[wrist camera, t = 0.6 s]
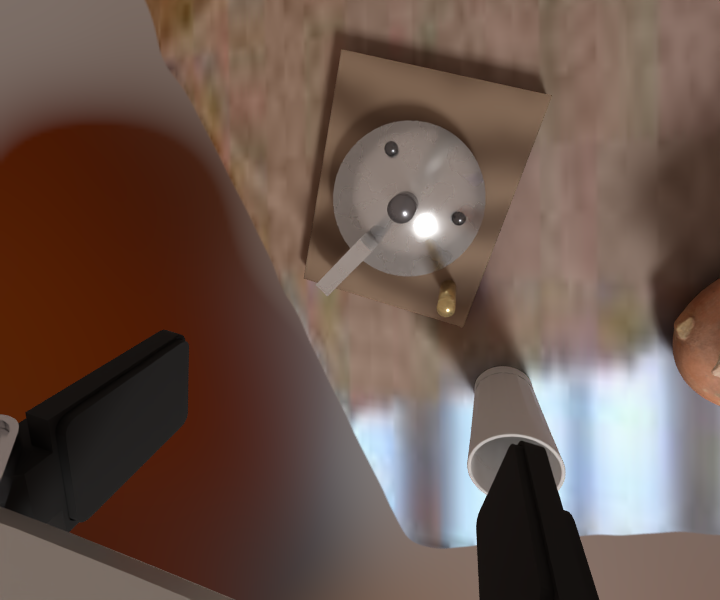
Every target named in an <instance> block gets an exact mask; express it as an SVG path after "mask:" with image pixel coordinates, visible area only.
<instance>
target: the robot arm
mask: <svg viewBox="0 0 720 600" xmlns="http://www.w3.org/2000/svg"><path fill="white" fill-rule="evenodd" d="M188 362H189V345H188V343H187V342H186V341H185V338H184V336H183V335H180V334H177V333H174V332H171V331H167V330H162V331H159V332H158V333H156V334H154V335H153V336H151V337H149V338H148V339H146V340H144V341H143V342H141V343H139V344H138V345H136V346H134V347H133V348H131V349H130V350H128V351H126V352H125V353H123V354H121V355H120V356H118V357H116V358H115V359H113V360H111V361H110V362H108V363H106V364H105V365H103V366H101V367H100V368H98V369H96V370H95V371H93V372H92V373H90V374H88V375H87V376H85V377H83V378H82V379H80V380H78V381H77V382H75V383H73V384H72V385H70V386H68V387H67V388H65V389H64V390H62V391H60V392H58V393H57V394H55V395H53V396H52V397H50V398H48V399H47V400H45V401H44V402H42V403H41V404H39V405H37V406H35V407H34V408H32V409H31V410H29V411H27V412H26V419H24V420H23V421H21V422H20V423H17V421H16V420H15V419H14V418H12V417H10V416H7V415H0V600H234V599H231V598H229V597H227V596H224V595H222V594H219V593H217V592H215V591H212V590H210V589H207V588H205V587H202V586H200V585H197V584H195V583H193V582H190V581H188V580H185V579H183V578H180V577H178V576H176V575H173V574H171V573H168V572H166V571H163V570H161V569H158V568H156V567H153V566H151V565H148V564H146V563H144V562H141V561H139V560H136V559H134V558H131V557H128V556H126V555H124V554H121V553H119V552H116V551H113V550H111V549H109V548H106V547H104V546H101V545H99V544H96V543H94V542H91V541H89V540H86V539H84V538H81V537H79V536H76V535H74V534H71V533H69V531H71V529H73V527H74V526H75V525H76V524H78V523H79V522H84V521H86V520H88V519H89V518H90V517H91V516H92V515H93V514H94V513H95V512H96V511H97V510H98V509H99V508H100V507H101V506H102V505H103V504H104V503H105V502H106V501H107V500H108V499H109V498H110V497H111V496H112V495H113V494H114V493H115V492H116V491H117V490H118V489H119V488H120V487H121V486H122V485H123V484H124V483H125V482H126V481H127V480H128V479H129V478H130V477H131V476H132V475H133V474H134V473H135V472H136V471H137V470H138V469H139V468H140V467H141V466H142V465H143V464H144V463H145V462H146V461H147V460H148V459H149V458H150V457H151V456H152V455H153V454H154V453H155V452H156V451H157V450H158V449H159V448H160V447H161V446H162V445H163V444H164V443H165V442H166V441H167V440H168V439H169V438H170V437H171V436H172V435H173V434H174V433H175V432H176V431H177V430H178V429H179V428H180V427H181V426H182V425H183V424H184V422H185V420H186V418H187V414H188V367H189V366H188V365H189V363H188ZM476 534H477V555H478V576H479V597H480V600H599V597H598V595H597V591H596V588H595V585H594V581H593V578H592V575H591V572H590V569H589V565H588V562H587V559H586V556H585V553H584V549H583V546H582V543H581V540H580V537H579V533H578V530H577V527H576V524H575V521H574V519H573V517H572V515H571V514H570V513H569V512H568V511H565V510H563V507H562V503H561V500H560V497H559V493H558V490H557V486H556V483H555V479H554V476H553V473H552V469H551V466H550V462H549V459H548V455H547V452H546V450H545V448H544V447H541V446H538V445H535V444H532V443H528V442H525V441H520V442H519V443H518V444H517V445H516V444H511V445H510V446H509V448H508V450H507V452H506V455H505V457H504V459H503V461H502V463H501V466H500V468H499V470H498V472H497V474H496V477H495V479H494V481H493V483H492V485H491V487H490V490H489V492H488V494H487V496H486V498H485V501H484V503H483V505H482V507H481V509H480V512H479V514H478V518H477V524H476Z"/></svg>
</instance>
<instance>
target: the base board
mask: <svg viewBox="0 0 720 600" xmlns="http://www.w3.org/2000/svg"><path fill="white" fill-rule="evenodd" d="M551 97H552V95H548V94H543V93H539V92H534V91H529V90H525V89H520V88H516V87H511V86H507V85H502V84H498V83H493V82H489V81H484V80H479V79H475V78H470V77H466V76H461V75H457V74H452V73H448V72H443V71H439V70H434V69H429V68H425V67H420V66H416V65H411V64H407V63H402V62H398V61H393V60H388V59H384V58H379V57H375V56H370V55H366V54H361V53H357V52H352V51H348V50H343V49H341V55H340V61H339V67H338V73H337V79H336V85H335V92H334V98H333V104H332V110H331V116H330V122H329V128H328V134H327V140H326V146H325V152H324V158H323V164H322V170H321V176H320V183H319V189H318V195H317V201H316V207H315V213H314V219H313V225H312V231H311V237H310V243H309V249H308V255H307V261H306V267H305V274H304V279H307V280H311V281H314V282H317V283H318V282H319V281H320V280H321V279H322V278H323V277H324V276H325V274H326V273H327V272H328V271H329V270H330V269H331V268H332V267H333V266H334V265H335V264H336V263H337V262H338V261H339V260H340V259H341V258H342V257H343V256H344V255H345V254H346V253H347V252H348V251H349V250H350V247H349V246H348V245H347V243H346V242H345V240H344V238H343V236H342V235H341V233H340V230H339V228H338V225H337V222H336V218H335V214H334V207H333V192H334V184H335V180H336V176H337V173H338V171H339V168H340V166H341V164H342V162H343V160H344V158H345V156H346V155H347V154H348V152H349V151H350V149H351V148H352V147H353V146H354V145H355V144H356V143H357V142H358V141H359V140H360V139H361V138H363V137H364V136H365V135H366V134H368V133H369V132H371V131H373V130H374V129H376V128H379V127H381V126H383V125H386V124H389V123H393V122H398V121H422V122H428V123H431V124H434V125H437V126H440V127H442V128H444V129H446V130H448V131H449V132H451V133H452V134H454V135H455V136H457V137H458V138H459V139H460V140H461V141H462V142H463V143H464V144H465V145H466V146H467V147H468V148H469V150H470V151H471V152H472V154H473V156H474V157H475V159H476V161H477V163H478V165H479V168H480V170H481V172H482V176H483V180H484V185H485V193H486V194H485V210H484V216H483V219H482V223H481V226H480V228H479V230H478V232H477V235H476V236H475V238H474V240H473V241H472V243H471V244H470V245H469V247H468V248H467V249H466V251H465V252H464V253H463V254H462V255H461V256H460V257H458V258H457V259H456V260H455V261H453V262H452V263H451V264H449V265H447V266H446V267H444V268H442V269H440V270H437V271H435V272H432V273H429V274H425V275H419V276H397V275H392V274H388V273H385V272H382V271H380V270H377V269H375V268H373V267H371V266H370V265H368V264H367V263H365V262H364V261H362V262H361V263H360V264H359V265H358V266H357V267H356V268H355V269H354V270H353V271H352V272H351V273H350V274H349V275H348V276H347V277H346V278H345V279H344V280H343V281H342V282H341V283H340V284H339V285H338V286H337V287H336V288H337V289H340V290H343V291H346V292H349V293H353V294H356V295H359V296H362V297H366V298H369V299H372V300H375V301H379V302H382V303H385V304H388V305H392V306H395V307H398V308H401V309H404V310H408V311H411V312H414V313H417V314H421V315H424V316H427V317H430V318H434V319H437V320H440V321H443V322H446V323H450V324H453V325H456V326H459V327H463V326H464V324H465V321H466V318H467V316H468V313H469V311H470V308H471V305H472V303H473V300H474V298H475V295H476V292H477V290H478V287H479V285H480V282H481V279H482V277H483V274H484V272H485V269H486V266H487V264H488V261H489V259H490V256H491V253H492V251H493V248H494V246H495V243H496V240H497V238H498V235H499V233H500V230H501V227H502V225H503V222H504V220H505V217H506V214H507V212H508V209H509V207H510V204H511V201H512V199H513V196H514V194H515V191H516V188H517V186H518V183H519V181H520V178H521V175H522V173H523V170H524V168H525V165H526V162H527V160H528V157H529V155H530V152H531V149H532V147H533V144H534V142H535V139H536V136H537V134H538V131H539V129H540V126H541V123H542V121H543V118H544V116H545V113H546V110H547V108H548V105H549V103H550V100H551ZM445 280H452V281H453V282H455V284H456V287H457V288H456V304H455V312H454V314H453V315H452V316H450V317H443V316H441V315H439V314H438V312H437V304H438V298H439V292H440V286H441V284H442V282H443V281H445Z"/></svg>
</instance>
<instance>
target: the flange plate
mask: <svg viewBox="0 0 720 600" xmlns="http://www.w3.org/2000/svg"><path fill="white" fill-rule="evenodd" d="M403 191H408V192H411V193H413V194H414V195H415V196H416V198H417V200H418V209H417V212H416V213H415V215H414V216H413V218H412V219H411V220H410V221H408V222H407V223H403V224H399V223H395V222H394V221H392V220H391V219H390V217H389V216H388V213H387V206H388V203H389V201H390V200H391V199H392V198H393V197H394V196H396V195H397V194H398V193H400V192H403ZM485 194H486V193H485V185H484V180H483V176H482V172H481V170H480V168H479V165H478V163H477V161H476V159H475V157H474V156H473V154H472V152H471V151H470V150H469V148H468V147H467V146H466V145H465V144H464V143H463V142H462V141H461V140H460V139H459V138H458V137H457V136H455V135H454V134H452V133H451V132H449V131H448V130H446V129H444V128H442V127H440V126H437V125H434V124H431V123H428V122H422V121H398V122H393V123H389V124H386V125H383V126H381V127H379V128H376V129H374V130H373V131H371V132H369V133H368V134H366V135H365V136H364V137H363V138H361V139H360V140H359V141H358V142H357V143H356V144H355V145H354V146H353V147H352V148H351V149H350V151H349V152H348V154H347V155H346V156H345V158H344V160H343V162H342V164H341V166H340V168H339V171H338V173H337V176H336V180H335V184H334V192H333V207H334V214H335V218H336V222H337V225H338V228H339V230H340V233H341V235H342V236H343V238H344V240H345V242H346V243H347V245H348V246H349V247H350V250H349V251H348V252H347V253H346V254H345V255H344V256H343V257H342V258H341V259H340V260H339V261H338V262H337V263H336V264H335V265H334V266H333V267H332V268H331V269H330V270H329V271H328V272H327V273H326V274H325V276H324V277H323V278H322V279H321V280H320V281H319V282H318V283H317V284H316V286H317V287H318V288H319V289H320V290H321V291H323V292H324V293H325V294H326V295H327V296H328V295H329V294H330V293H331V292H332V291H333V290H334V289H335V288H336V287H337V286H338V285H339V284H340V283H341V282H342V281H343V280H344V279H345V278H346V277H347V276H348V275H349V274H350V273H351V272H352V271H353V270H354V269H355V268H356V267H357V266H358V265H359V264H360V263H361V262H362V261H364V262H365V263H367V264H368V265H370V266H371V267H373V268H375V269H377V270H380V271H382V272H385V273H388V274H392V275H397V276H419V275H425V274H429V273H432V272H435V271H437V270H440V269H442V268H444V267H446V266H447V265H449V264H451V263H452V262H453V261H455V260H456V259H457V258H458V257H460V256H461V255H462V254H463V253H464V252H465V251H466V249H467V248H468V247H469V245H470V244H471V243H472V241H473V240H474V238H475V236H476V235H477V232H478V230H479V228H480V226H481V223H482V219H483V216H484V210H485Z"/></svg>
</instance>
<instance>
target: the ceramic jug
mask: <svg viewBox="0 0 720 600" xmlns="http://www.w3.org/2000/svg"><path fill="white" fill-rule="evenodd" d="M673 355H674V359H675V363H676V366H677V368H678V370H679V372H680V374H681V376H682V377H683V379H684V380H685V382H686V383H687V384H688V385H689V386H690V387H691V388H692V389H693V390H694V391H695V392H696V393H698V394H699V395H700V396H702V397H703V398H705V399H707V400H709V401H710V402H712V403H714V404H717V405H719V406H720V278H719V279H718V280H716V281H714V282H713V283H711V284H710V285H709V286H707V287H706V288H705V289H703V290H702V291H701V292H700V293H699V294H698V295H697V296H696V297H695V298H694V299H693V300H692V301H691V302H690V303H689V304H688V305H687V307H686V308H685V309H684V311H683V312H682V313H681V314H680V315H679V317H678V318H677V319H676V321H675V322H674V334H673Z"/></svg>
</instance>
